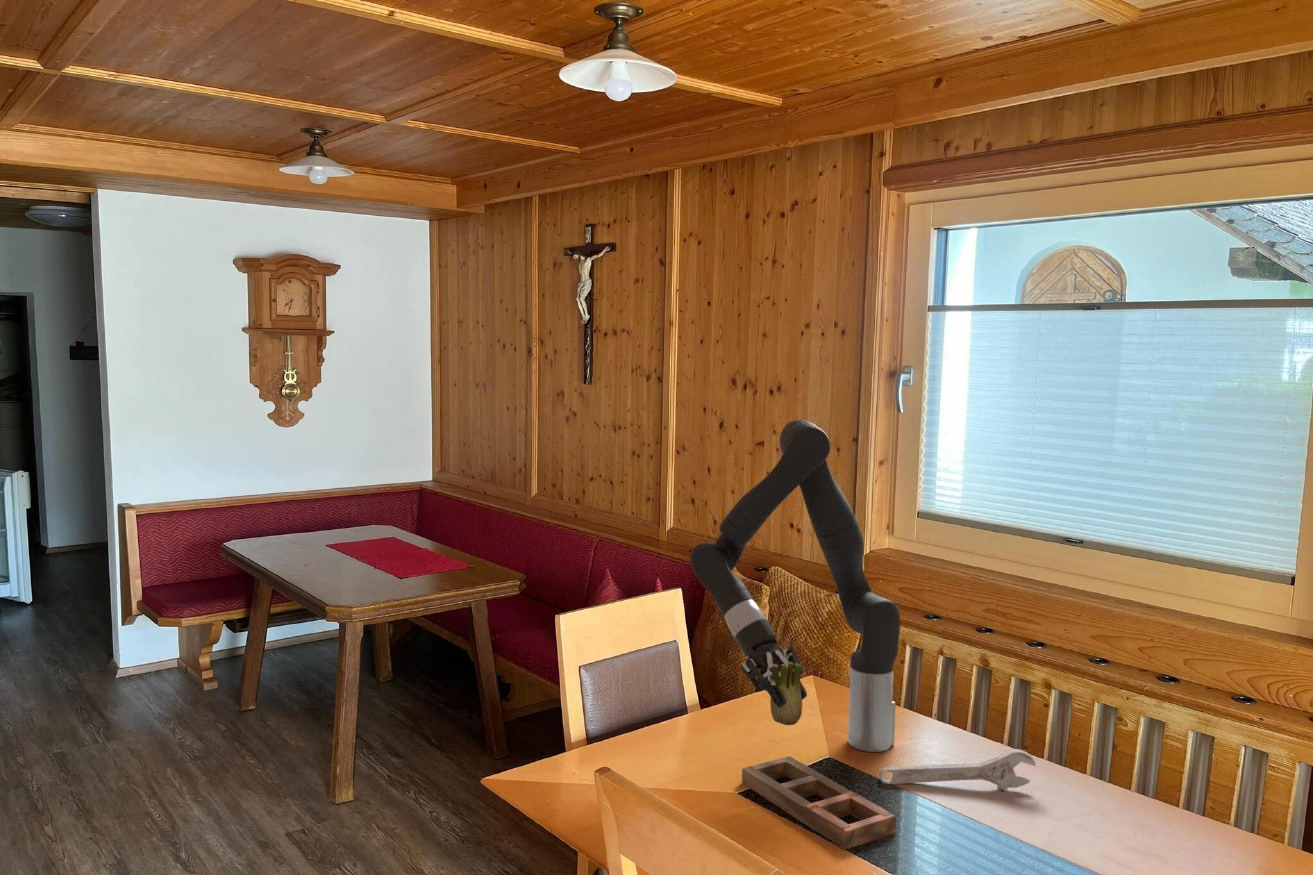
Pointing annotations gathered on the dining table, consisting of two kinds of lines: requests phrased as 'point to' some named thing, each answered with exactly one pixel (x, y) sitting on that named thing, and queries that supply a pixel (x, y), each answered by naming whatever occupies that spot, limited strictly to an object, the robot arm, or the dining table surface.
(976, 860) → the dining table surface
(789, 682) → the fennel bulb
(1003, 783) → the wrench
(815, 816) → the brown flat frame piece
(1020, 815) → the dining table surface
